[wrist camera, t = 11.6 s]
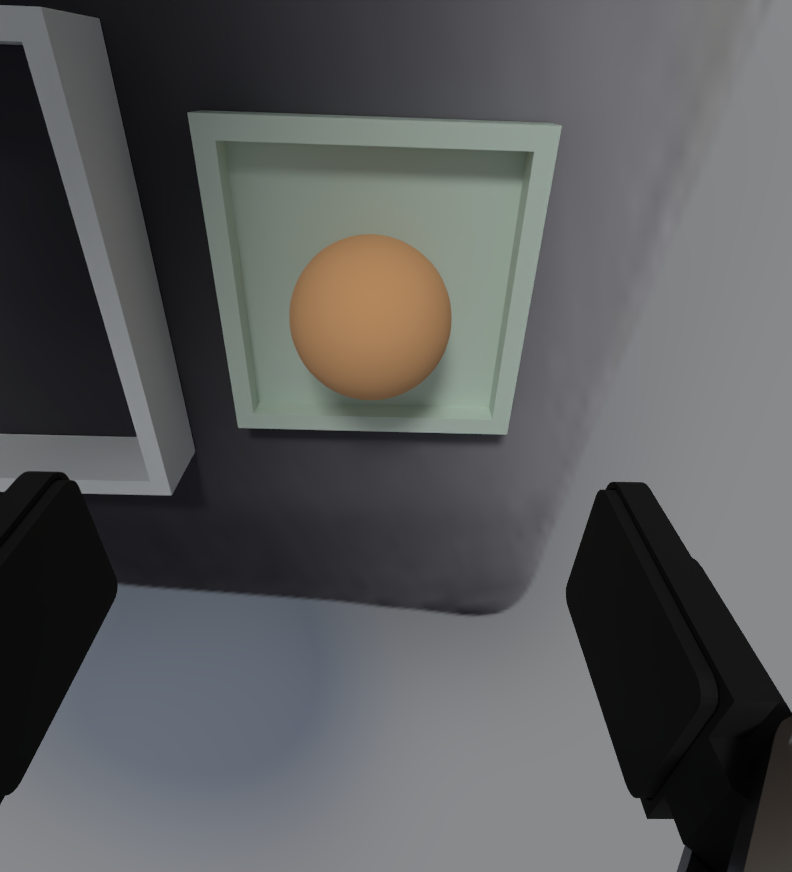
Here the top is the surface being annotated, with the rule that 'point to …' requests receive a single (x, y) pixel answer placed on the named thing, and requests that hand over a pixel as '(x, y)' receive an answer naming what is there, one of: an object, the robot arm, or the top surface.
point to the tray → (382, 215)
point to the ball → (370, 317)
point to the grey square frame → (102, 265)
